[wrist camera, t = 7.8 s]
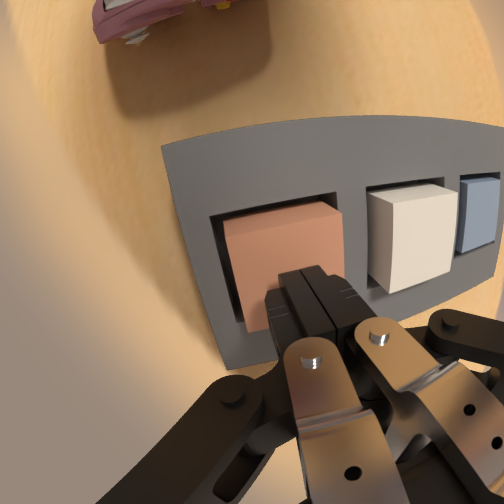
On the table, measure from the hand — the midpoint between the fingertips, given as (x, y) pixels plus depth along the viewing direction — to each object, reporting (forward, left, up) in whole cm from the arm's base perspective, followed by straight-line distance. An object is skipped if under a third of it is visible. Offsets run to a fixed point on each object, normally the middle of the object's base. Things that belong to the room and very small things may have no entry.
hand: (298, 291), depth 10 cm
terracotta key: (0, 0, -3) cm, 3 cm away
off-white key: (0, +7, -3) cm, 8 cm away
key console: (0, +7, -6) cm, 10 cm away
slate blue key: (0, +14, -5) cm, 15 cm away
